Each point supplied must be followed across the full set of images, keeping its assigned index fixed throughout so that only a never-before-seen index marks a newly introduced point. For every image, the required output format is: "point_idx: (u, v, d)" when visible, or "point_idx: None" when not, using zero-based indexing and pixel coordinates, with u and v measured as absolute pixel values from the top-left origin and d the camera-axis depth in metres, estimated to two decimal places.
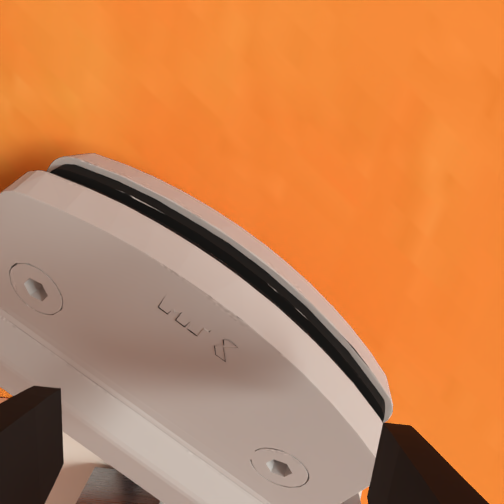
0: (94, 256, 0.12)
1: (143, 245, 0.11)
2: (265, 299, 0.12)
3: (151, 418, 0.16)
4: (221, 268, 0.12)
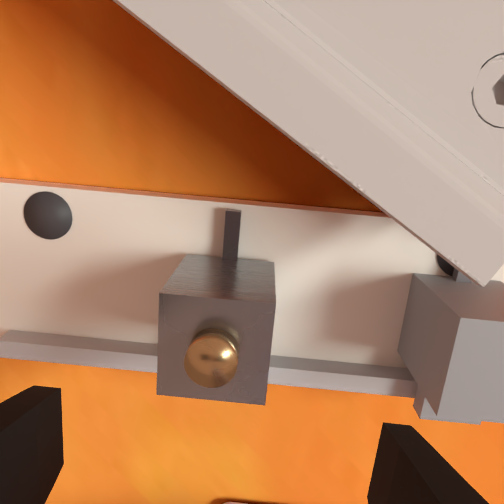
0: None
1: None
2: None
3: (341, 57, 0.12)
4: None
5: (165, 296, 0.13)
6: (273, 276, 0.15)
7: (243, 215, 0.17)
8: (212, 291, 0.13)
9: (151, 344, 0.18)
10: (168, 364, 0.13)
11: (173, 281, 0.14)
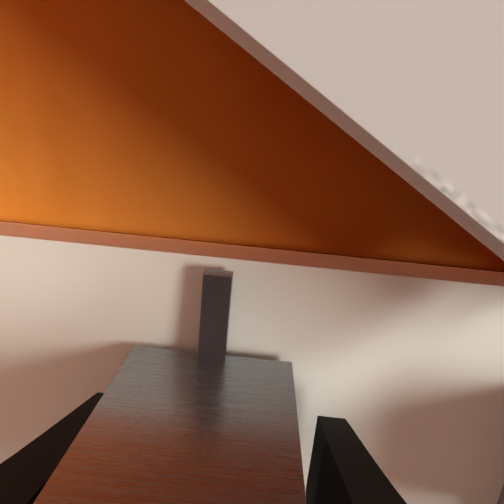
0: None
1: None
2: None
3: None
4: None
5: None
6: (294, 414, 0.08)
7: (235, 278, 0.09)
8: (159, 494, 0.06)
9: None
10: None
11: (78, 454, 0.06)
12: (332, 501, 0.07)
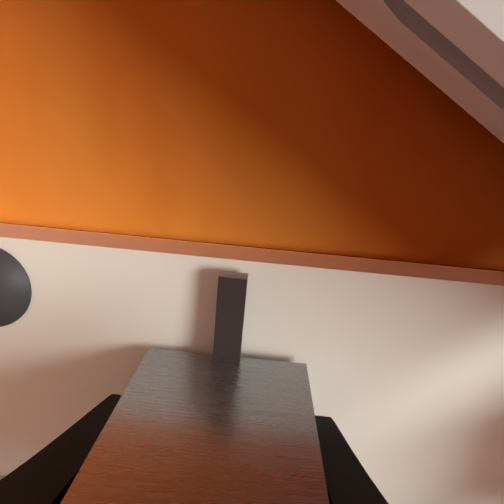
0: None
1: None
2: None
3: None
4: None
5: None
6: (312, 416, 0.08)
7: (341, 289, 0.09)
8: (182, 497, 0.06)
9: None
10: None
11: (100, 457, 0.06)
12: None
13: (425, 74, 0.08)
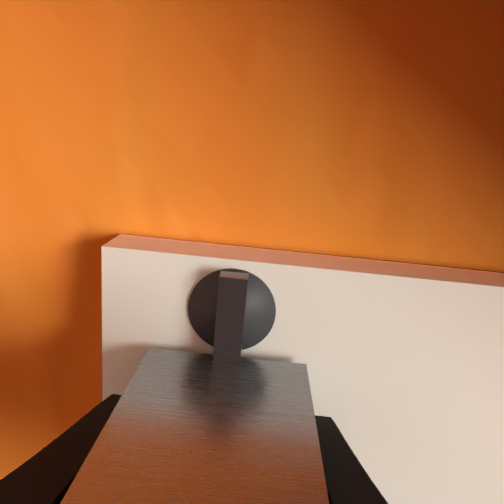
0: None
1: None
2: None
3: None
4: None
5: None
6: (311, 416, 0.08)
7: None
8: (182, 497, 0.06)
9: None
10: None
11: (100, 457, 0.06)
12: None
13: None
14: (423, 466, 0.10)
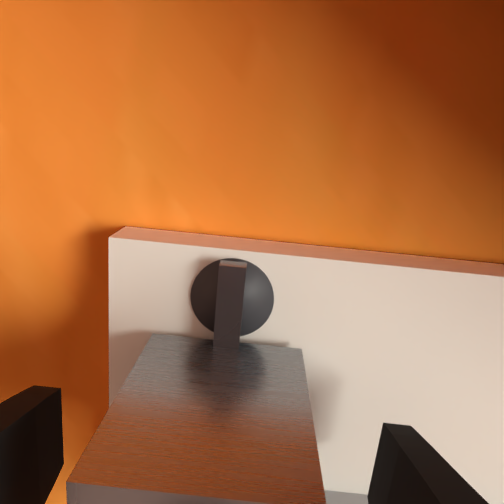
0: None
1: None
2: None
3: None
4: None
5: (81, 487, 0.06)
6: (306, 394, 0.08)
7: None
8: (186, 463, 0.06)
9: None
10: None
11: (109, 428, 0.07)
12: None
13: None
14: None
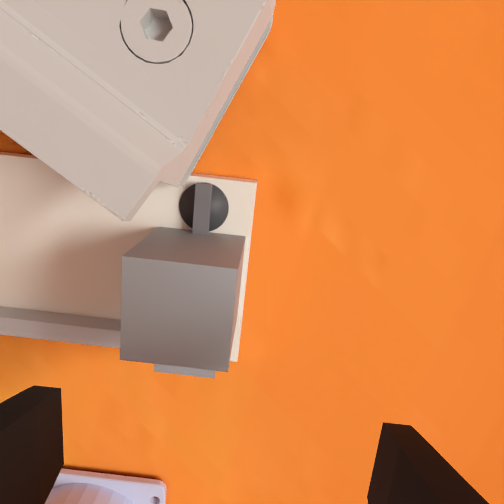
0: None
1: None
2: None
3: None
4: None
5: None
6: None
7: None
8: None
9: None
10: None
11: None
12: None
13: None
14: None
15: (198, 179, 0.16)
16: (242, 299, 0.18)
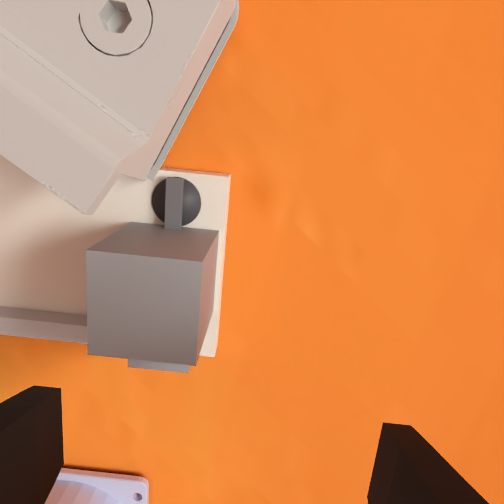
0: None
1: None
2: None
3: None
4: None
5: None
6: None
7: None
8: None
9: None
10: None
11: None
12: None
13: None
14: None
15: (170, 173, 0.16)
16: (217, 294, 0.18)
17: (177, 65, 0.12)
